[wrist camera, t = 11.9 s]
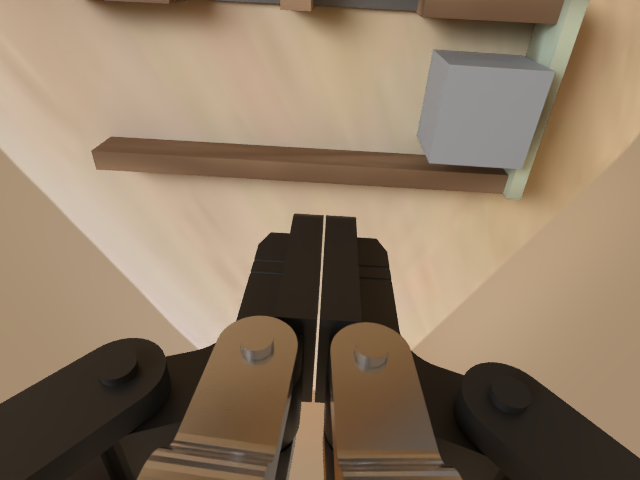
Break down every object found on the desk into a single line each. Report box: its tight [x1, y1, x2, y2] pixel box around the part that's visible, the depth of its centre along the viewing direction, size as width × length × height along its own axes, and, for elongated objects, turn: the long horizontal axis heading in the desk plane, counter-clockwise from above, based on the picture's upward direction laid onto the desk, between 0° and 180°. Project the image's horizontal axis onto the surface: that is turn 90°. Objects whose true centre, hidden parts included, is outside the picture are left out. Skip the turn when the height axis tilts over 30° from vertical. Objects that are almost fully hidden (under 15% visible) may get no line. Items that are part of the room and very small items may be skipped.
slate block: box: [417, 50, 555, 169], centre depth 23 cm, size 5×5×4 cm
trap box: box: [92, 0, 589, 200], centre depth 21 cm, size 18×26×3 cm
